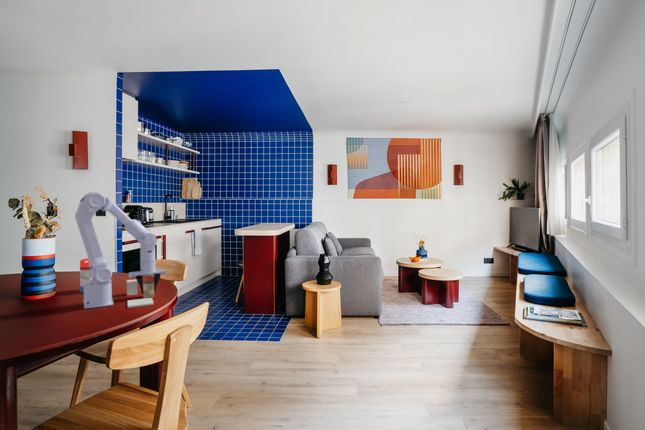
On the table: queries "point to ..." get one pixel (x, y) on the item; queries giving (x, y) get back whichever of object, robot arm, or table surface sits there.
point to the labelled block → (148, 289)
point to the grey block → (132, 287)
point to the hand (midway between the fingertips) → (148, 292)
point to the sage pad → (140, 302)
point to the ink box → (84, 273)
